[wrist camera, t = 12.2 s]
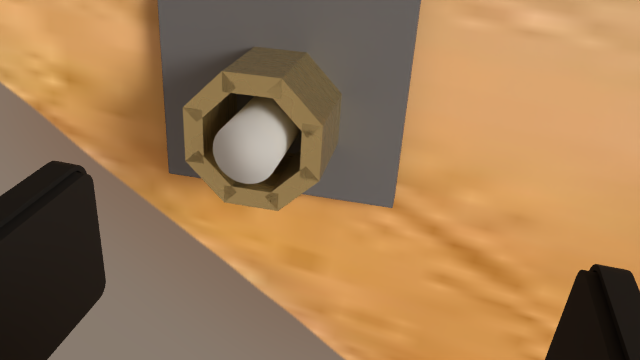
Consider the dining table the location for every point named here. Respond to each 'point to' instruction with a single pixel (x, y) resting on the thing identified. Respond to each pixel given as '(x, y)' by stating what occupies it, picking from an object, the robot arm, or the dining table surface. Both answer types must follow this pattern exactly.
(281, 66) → the brass ring
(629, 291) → the robot arm
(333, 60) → the piston stand
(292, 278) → the dining table surface
